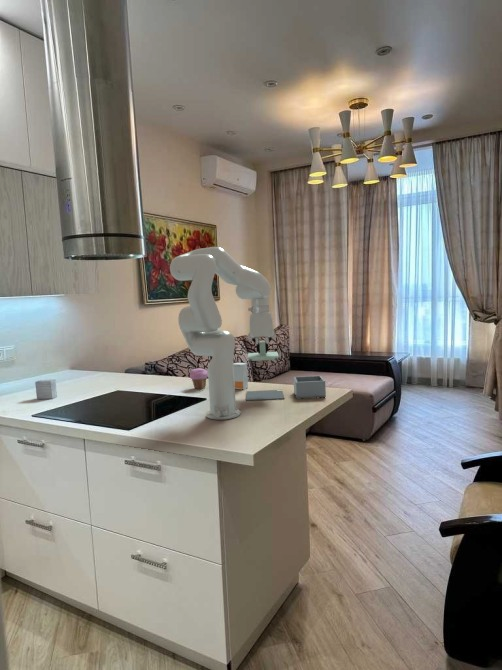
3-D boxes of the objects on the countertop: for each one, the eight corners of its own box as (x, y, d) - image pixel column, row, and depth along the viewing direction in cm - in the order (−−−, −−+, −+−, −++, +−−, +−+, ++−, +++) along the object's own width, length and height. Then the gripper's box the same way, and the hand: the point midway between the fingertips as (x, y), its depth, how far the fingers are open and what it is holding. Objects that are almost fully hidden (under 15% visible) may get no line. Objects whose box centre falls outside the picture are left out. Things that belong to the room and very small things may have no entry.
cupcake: (206, 390, 208) (204, 369, 207) (188, 390, 209) (186, 369, 208) (210, 386, 217) (209, 366, 216) (193, 386, 218) (192, 366, 217)
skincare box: (232, 389, 207) (231, 364, 206) (237, 387, 211) (235, 362, 210) (244, 389, 205) (242, 364, 203) (248, 387, 208) (247, 362, 207)
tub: (325, 397, 181) (325, 381, 181) (296, 399, 182) (296, 382, 181) (321, 391, 193) (320, 375, 193) (294, 392, 194) (293, 376, 193)
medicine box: (57, 396, 211) (55, 379, 210) (52, 399, 206) (50, 381, 206) (42, 397, 212) (40, 379, 211) (36, 399, 207) (34, 381, 206)
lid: (279, 360, 183) (278, 342, 182) (247, 361, 183) (246, 344, 182) (277, 355, 196) (276, 339, 195) (248, 357, 196) (247, 340, 195)
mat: (284, 399, 183) (284, 398, 183) (246, 401, 183) (245, 399, 183) (282, 390, 199) (282, 389, 199) (246, 392, 199) (246, 391, 199)
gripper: (241, 311, 184) (243, 355, 185) (279, 309, 183) (282, 353, 185) (241, 310, 191) (244, 352, 193) (278, 308, 191) (280, 350, 193)
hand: (262, 352), depth 189 cm, fingers closed on lid, 2 cm apart
